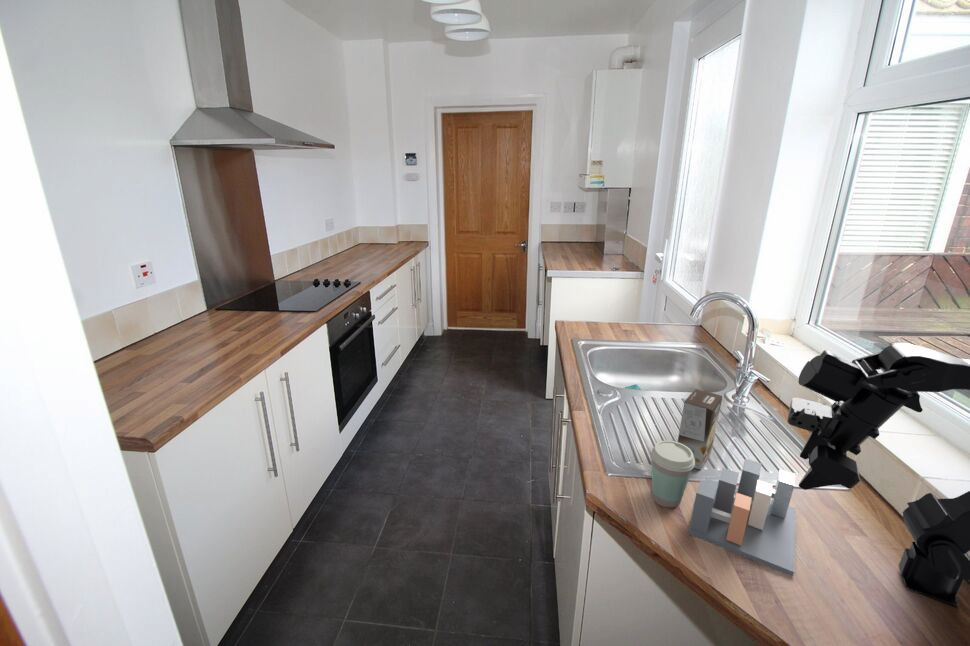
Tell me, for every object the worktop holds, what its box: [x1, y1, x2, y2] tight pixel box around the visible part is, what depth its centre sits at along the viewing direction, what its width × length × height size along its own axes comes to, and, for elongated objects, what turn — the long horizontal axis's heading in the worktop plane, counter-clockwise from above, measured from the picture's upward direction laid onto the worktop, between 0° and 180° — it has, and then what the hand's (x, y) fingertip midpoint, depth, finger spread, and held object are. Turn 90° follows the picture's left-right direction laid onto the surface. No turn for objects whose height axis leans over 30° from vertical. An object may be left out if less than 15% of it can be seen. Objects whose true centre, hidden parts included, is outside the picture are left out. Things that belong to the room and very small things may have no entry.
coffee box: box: [677, 388, 723, 470], centre depth 107 cm, size 9×6×16 cm
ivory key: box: [733, 479, 773, 530], centre depth 88 cm, size 7×4×8 cm, turn 56°
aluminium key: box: [771, 469, 796, 518], centre depth 91 cm, size 7×4×8 cm, turn 56°
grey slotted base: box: [688, 458, 797, 577], centre depth 88 cm, size 17×18×9 cm
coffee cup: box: [650, 440, 695, 508], centre depth 94 cm, size 8×8×12 cm
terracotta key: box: [711, 493, 752, 545], centre depth 84 cm, size 7×4×8 cm, turn 56°
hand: (801, 471), depth 81 cm, fingers open, 9 cm apart
